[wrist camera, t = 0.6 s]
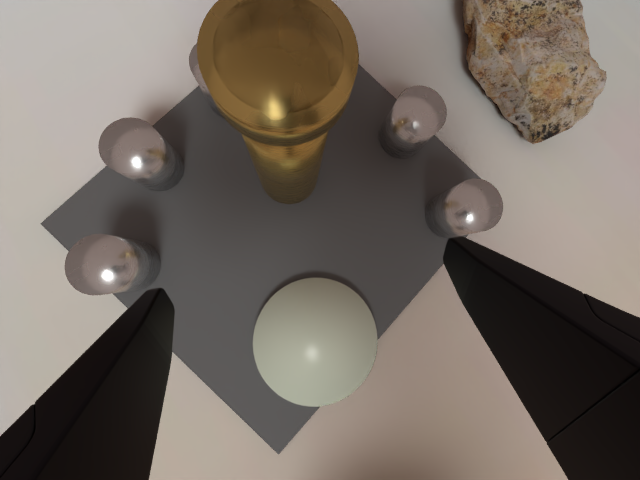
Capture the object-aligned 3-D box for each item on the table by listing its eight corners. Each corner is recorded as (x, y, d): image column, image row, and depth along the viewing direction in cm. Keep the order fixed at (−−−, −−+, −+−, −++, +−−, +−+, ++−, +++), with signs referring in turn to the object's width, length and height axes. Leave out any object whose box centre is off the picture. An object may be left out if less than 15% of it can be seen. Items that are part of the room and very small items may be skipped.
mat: (497, 198, 24) (500, 197, 24) (279, 451, 21) (278, 454, 20) (293, 7, 25) (293, 3, 24) (45, 224, 21) (40, 223, 21)
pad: (399, 334, 22) (402, 336, 21) (318, 430, 21) (318, 434, 20) (313, 252, 22) (314, 252, 22) (227, 343, 21) (225, 345, 20)
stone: (636, 118, 21) (557, 80, 17) (539, 159, 27) (463, 138, 23) (571, -91, 26) (496, -162, 22) (500, -18, 31) (430, -62, 27)
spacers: (472, 234, 23) (508, 226, 19) (111, 294, 21) (67, 300, 17) (433, 55, 25) (459, 14, 21) (90, 89, 22) (46, 50, 18)
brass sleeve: (337, 176, 23) (390, 55, 10) (289, 224, 22) (281, 161, 9) (288, 129, 23) (278, -50, 10) (239, 176, 22) (161, 47, 9)
